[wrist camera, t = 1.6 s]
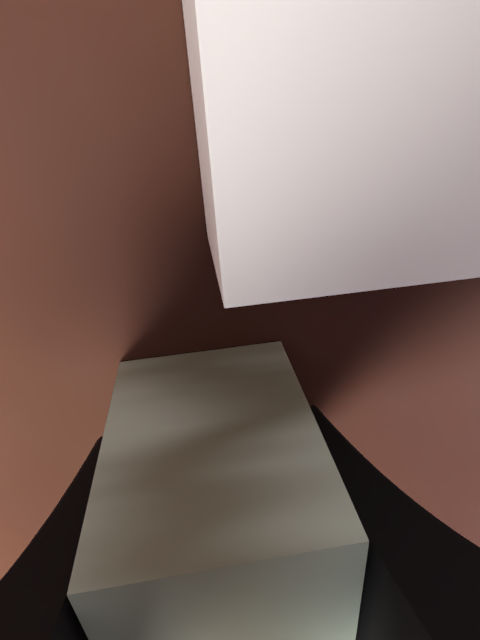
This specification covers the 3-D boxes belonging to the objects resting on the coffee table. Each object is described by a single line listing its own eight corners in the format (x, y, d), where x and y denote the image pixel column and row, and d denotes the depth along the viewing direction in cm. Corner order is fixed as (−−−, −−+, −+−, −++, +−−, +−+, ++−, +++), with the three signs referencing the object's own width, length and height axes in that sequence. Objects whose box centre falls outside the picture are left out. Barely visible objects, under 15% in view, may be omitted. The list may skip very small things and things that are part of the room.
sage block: (280, 341, 11) (369, 541, 6) (283, 455, 14) (350, 675, 8) (119, 361, 11) (67, 595, 6) (148, 475, 13) (128, 722, 8)
